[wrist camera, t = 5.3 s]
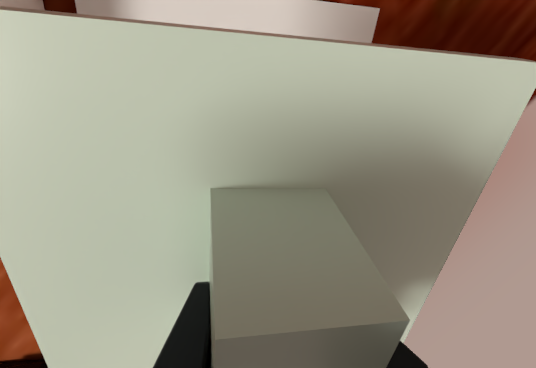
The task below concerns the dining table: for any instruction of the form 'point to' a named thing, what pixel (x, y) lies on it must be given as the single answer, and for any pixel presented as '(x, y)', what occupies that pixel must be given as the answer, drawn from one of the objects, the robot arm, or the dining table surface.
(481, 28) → the dining table surface
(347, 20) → the mat
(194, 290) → the robot arm
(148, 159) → the lid
